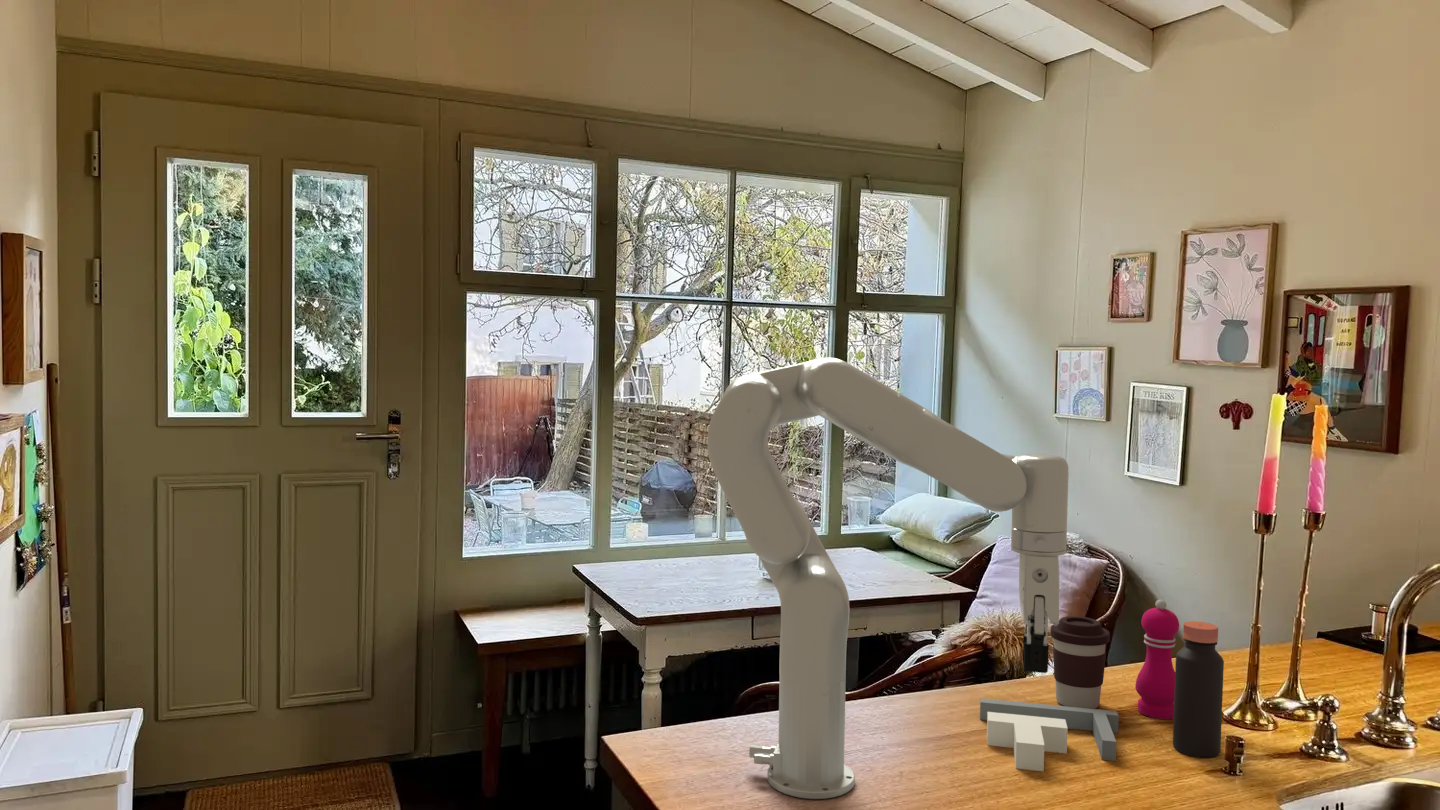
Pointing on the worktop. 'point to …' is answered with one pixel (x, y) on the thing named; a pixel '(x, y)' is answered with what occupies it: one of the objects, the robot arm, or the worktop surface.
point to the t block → (1027, 737)
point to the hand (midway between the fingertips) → (1035, 666)
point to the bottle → (1198, 692)
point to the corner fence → (1075, 717)
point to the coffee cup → (1079, 661)
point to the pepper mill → (1158, 663)
